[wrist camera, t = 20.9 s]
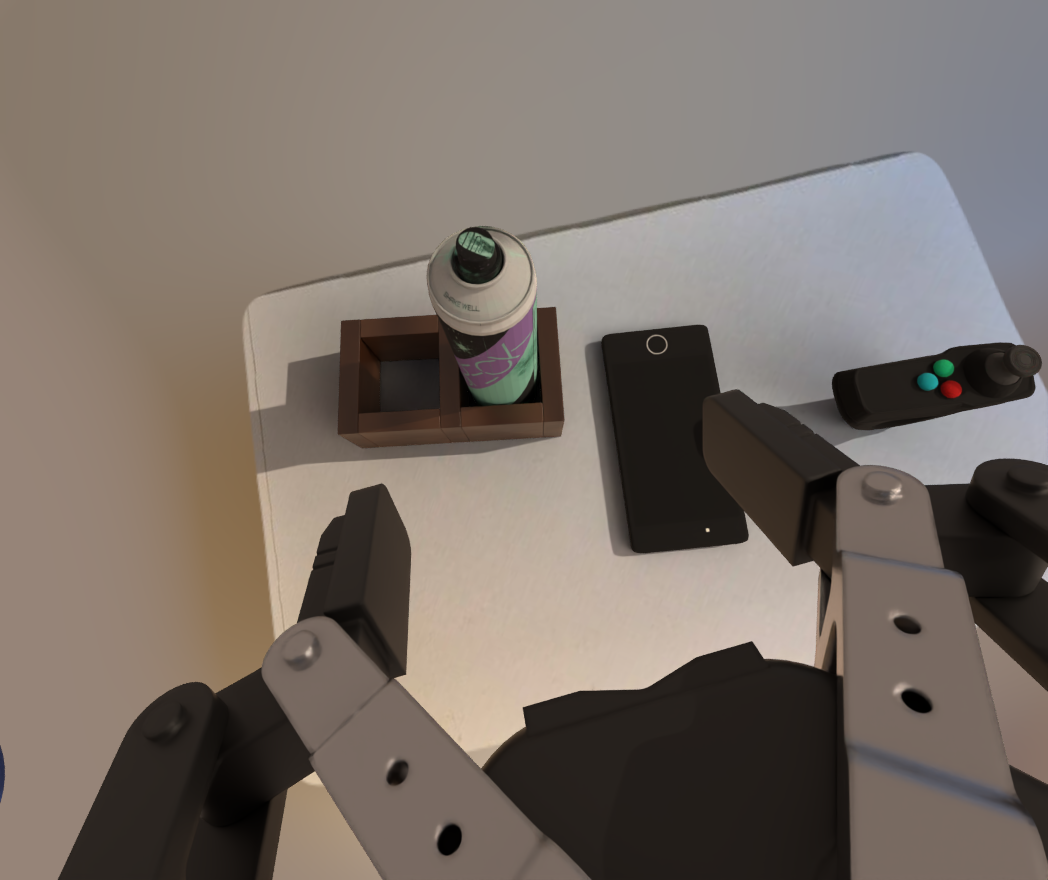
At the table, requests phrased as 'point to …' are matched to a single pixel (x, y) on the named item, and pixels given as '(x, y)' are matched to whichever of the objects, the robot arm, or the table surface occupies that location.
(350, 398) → the rack
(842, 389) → the controller
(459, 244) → the spray can
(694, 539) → the cell phone
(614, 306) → the table surface
